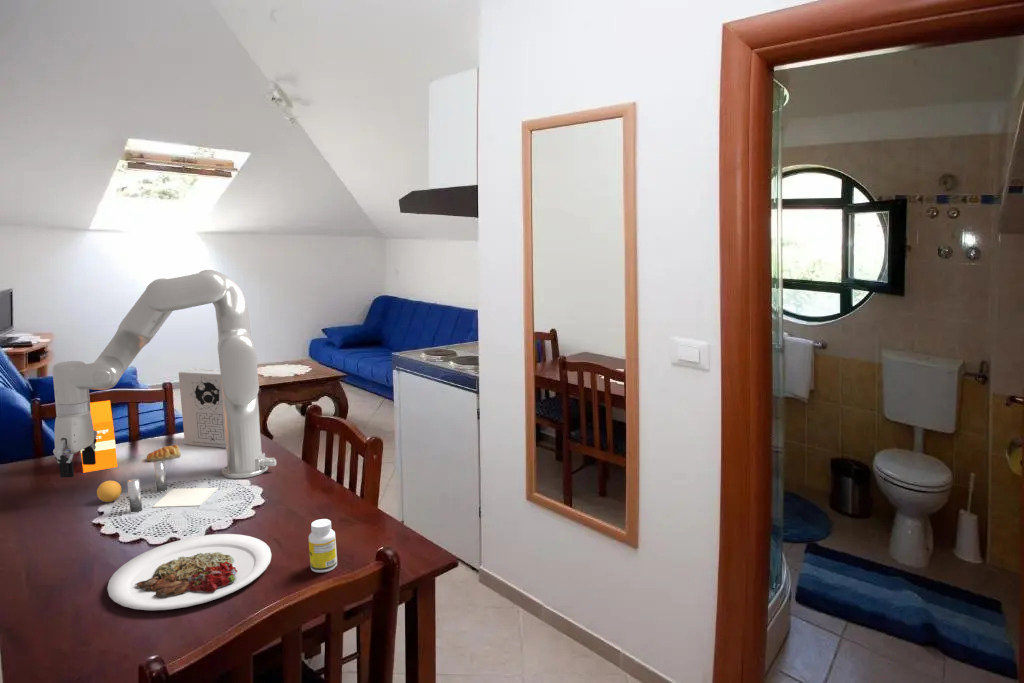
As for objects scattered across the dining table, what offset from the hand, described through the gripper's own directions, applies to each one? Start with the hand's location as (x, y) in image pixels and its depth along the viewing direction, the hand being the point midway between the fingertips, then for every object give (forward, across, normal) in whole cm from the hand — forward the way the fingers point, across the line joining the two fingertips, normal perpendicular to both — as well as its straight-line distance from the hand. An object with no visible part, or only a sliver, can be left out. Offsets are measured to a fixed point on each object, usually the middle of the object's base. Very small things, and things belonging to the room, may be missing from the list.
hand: (78, 470), depth 172 cm
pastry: (+7, -30, +9) cm, 32 cm away
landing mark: (+6, +4, +29) cm, 30 cm away
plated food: (+7, +45, +48) cm, 66 cm away
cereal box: (+6, -43, +20) cm, 48 cm away
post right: (+6, -2, +20) cm, 21 cm away
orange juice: (+7, -23, -8) cm, 26 cm away
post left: (+7, +12, +20) cm, 24 cm away
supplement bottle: (+6, +44, +74) cm, 86 cm away
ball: (+4, +5, +10) cm, 12 cm away
